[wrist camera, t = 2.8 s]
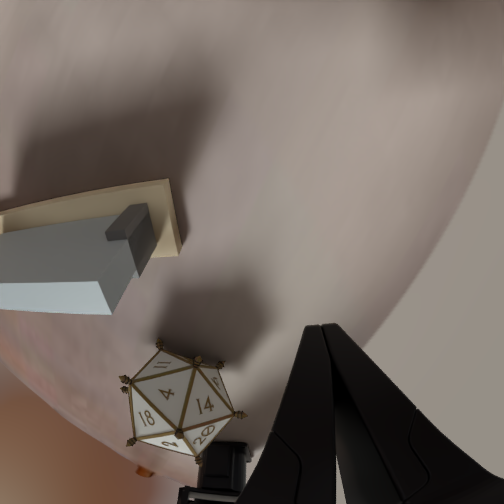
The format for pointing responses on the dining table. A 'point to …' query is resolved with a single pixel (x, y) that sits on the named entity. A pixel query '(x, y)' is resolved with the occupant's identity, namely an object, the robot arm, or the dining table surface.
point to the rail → (104, 211)
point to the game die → (178, 403)
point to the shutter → (75, 263)
